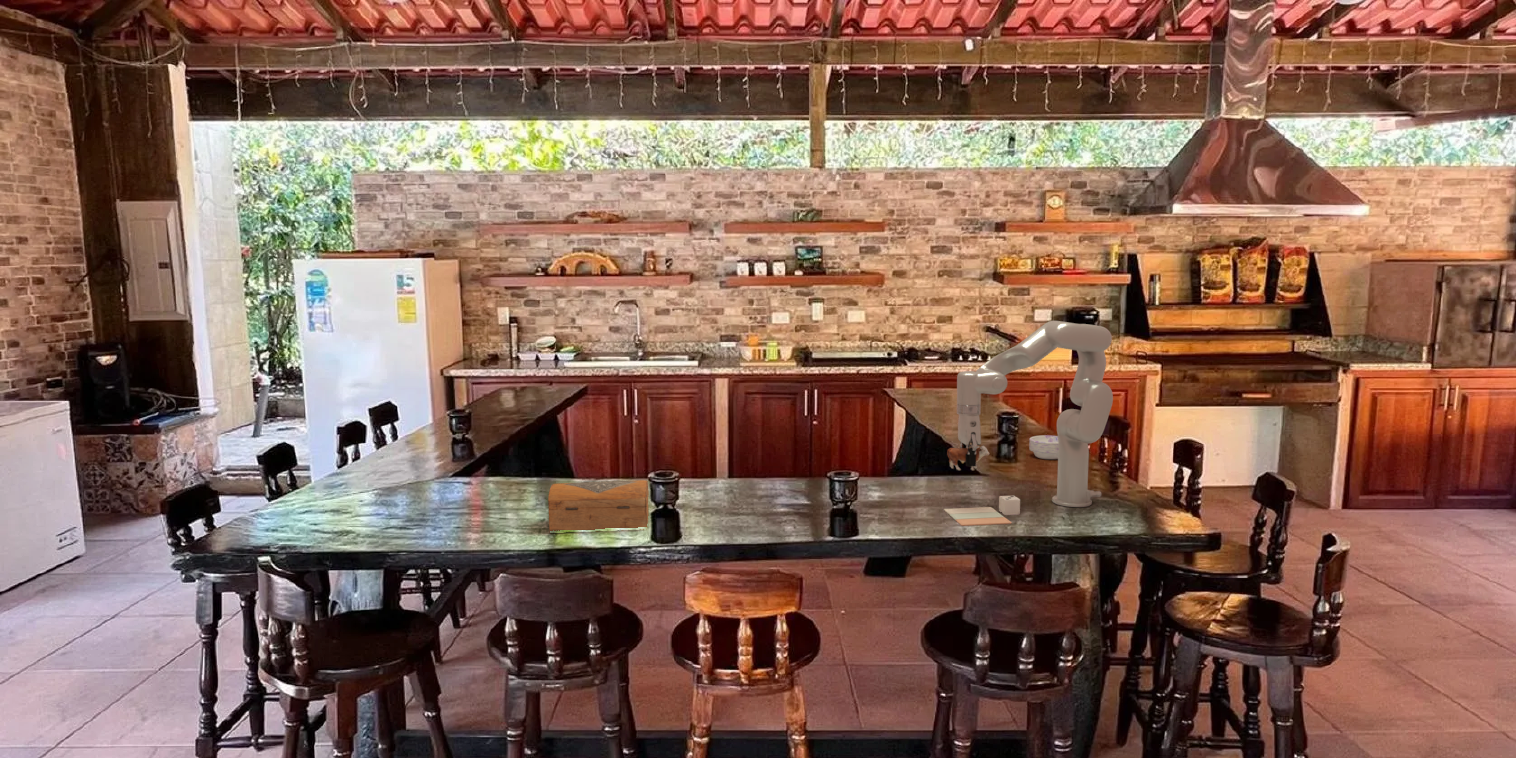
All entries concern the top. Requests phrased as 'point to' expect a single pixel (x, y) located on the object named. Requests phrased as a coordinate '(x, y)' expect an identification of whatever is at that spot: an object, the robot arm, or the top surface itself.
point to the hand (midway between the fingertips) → (967, 463)
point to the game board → (977, 516)
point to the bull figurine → (961, 455)
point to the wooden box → (598, 505)
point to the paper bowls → (1044, 446)
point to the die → (1009, 505)
